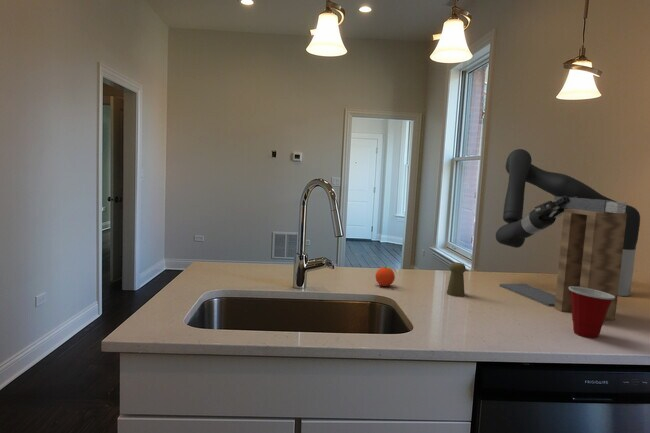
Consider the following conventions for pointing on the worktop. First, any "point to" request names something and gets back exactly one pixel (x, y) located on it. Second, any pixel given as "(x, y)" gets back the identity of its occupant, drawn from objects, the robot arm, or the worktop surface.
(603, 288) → the walnut shelf
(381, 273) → the clementine
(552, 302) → the rubber mat
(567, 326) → the worktop surface
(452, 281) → the cork
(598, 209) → the grey bar
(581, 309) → the plastic cup
